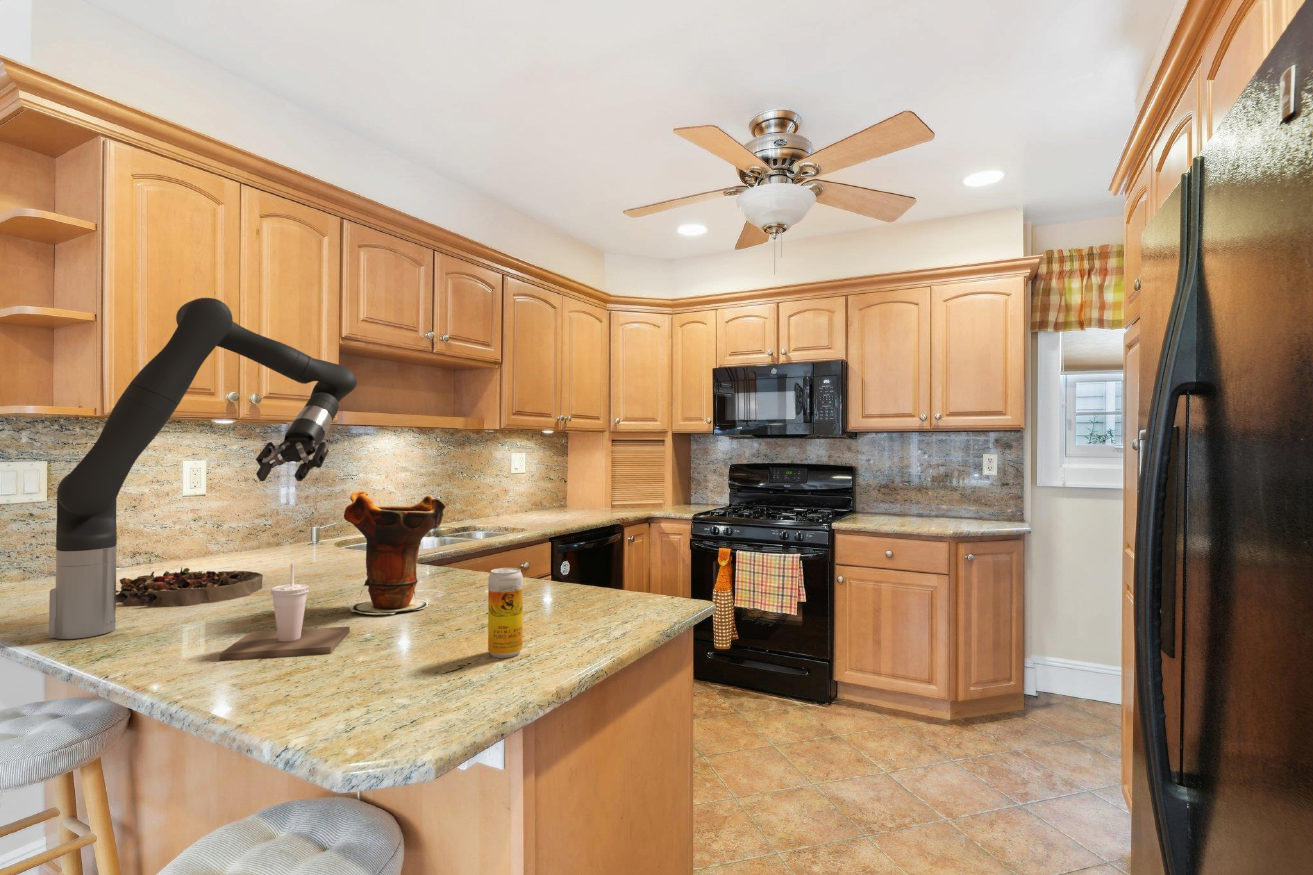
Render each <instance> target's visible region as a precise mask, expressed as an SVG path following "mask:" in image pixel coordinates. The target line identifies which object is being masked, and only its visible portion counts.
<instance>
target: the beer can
mask: <svg viewBox="0 0 1313 875" xmlns="http://www.w3.org/2000/svg"><path fill="white" fill-rule="evenodd" d="M487 578H488V580H487V582H488V585H487V586H488V590H487V591H488V594H487V595H488V596H487V597H488V598H487V599H488V600H487V601H488V602H487V604H488V605H487V606H488V607H487V608H488V609H487V610H488V612H487V615H488V616H487V621H488V623H487V627H488V628H487V633H488V634H487V648H488V649H487V652H489V654H490V655H491V657H494V658H499V659H504V658H505V659H506V658H507V659H508V658H512V657H516V656H518V655H519V654H520V653H521V651H522V650H523V648H524V647H523V646H524V645H523V641H524V640H523V638H524V637H523V636H524V635H523V633H524V632H523V630H524V629H523V627H524V626H523V621H524V620H523V619H524V618H523V616H524V615H523V613H524V611H523V610H524V609H523V608H524V606H523V604H524V600H523V599H524V596H523V595H524V592H523V591H524V590H523V589H524V584H523V581H524V580H523V578H524V577H523V573H522V572H521V568H518V567H500V568H493V569H491V570H490V573H489V575H488V577H487Z"/></svg>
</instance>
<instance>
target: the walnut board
mask: <svg viewBox="0 0 1313 875" xmlns="http://www.w3.org/2000/svg"><path fill="white" fill-rule="evenodd" d="M350 628H351V627H350V626H334V627H333V626H332V627H317V628H302V630H301V637H300V638H299V639H297V640H293V641H278V635H277V630H263V631H262V630H261V631H250V632H248V633H247V634H245V636H243V637H242V638H240V639H239V640H237V641H236V642H234V643H233V644H231V645H230V646H228V647H226V648H225V649H224V650H223V651H221V652H220V653H219V654H218V655H219V661H232V660H233V661H234V660H247V659H248V660H249V659H264V658H265V659H266V658H277V657H280V658H281V657H293V656H296V657H297V656H309V655H310V656H311V655H325V654H326V655H327V654H332V653H333V651H335V649H336V648H337V647H338V646H339V645H340V644H341V643H342V642H343V640H344V639H345V638H346V637H347V636H348V635H349V634H350V633H351V629H350Z"/></svg>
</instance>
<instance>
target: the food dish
mask: <svg viewBox="0 0 1313 875" xmlns="http://www.w3.org/2000/svg"><path fill="white" fill-rule="evenodd" d="M154 573H155V570H154V571H152V572H151V573H150V575H145V574H144V575H139V576H137V577H136V578H134V579H131V578H126V577H123V578H120V579H119V583H120V585H121V586H120V591H119V590H117V589H116V604H118V603H122V606H123V607H157V606H158V607H162V608H176V607H177V608H179V607H182V608H183V607H191V606H197V605H202V604H204V605H205V604H213V603H218V602H225V601H231V600H236V599H240V598H245V597H249V596H251V595H252V594H254V593H256V592H258V591H259V590H261V589H263V579H264V575H263V573H261V572H256V571H249V570H248V571H247V570H231V571H229V570H228V571H227V570H226V571H225V570H224V571H222V570H221V571H217V572H216V571H215V570H214V571H212V570H207V571H206V572H205V571H203V570H202V571H201V570H199V571H191V570H190V568H189V567H186V568H184V569H183V567H182V566H181V568H180V572H177V571H175V572H172V573H171V572H170V571H168V570H166V571H165V572H164V573H163V574H162V575H158V576H157V575H156V576H155V575H154Z"/></svg>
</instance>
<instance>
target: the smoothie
mask: <svg viewBox="0 0 1313 875" xmlns="http://www.w3.org/2000/svg"><path fill="white" fill-rule="evenodd" d="M294 573H295V563H290V580H289V581H290V584H282V585H278V586H274V587H272V588H270V595H271V596H272V601H273V602H272V604H273V610H274V618H275V627H276V631H277V635H278V641H293V640H297V639H299V638H300V637H301V630H302V629H303V624H304V623H303V622H304V618H305V617H304V616H305V609H306V603H307V594H308V592H309V591H310V590H309V589H310V588H309V587H310V586H309V584H303V583H295V582H294V580H295V578H294V576H295V574H294Z"/></svg>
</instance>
